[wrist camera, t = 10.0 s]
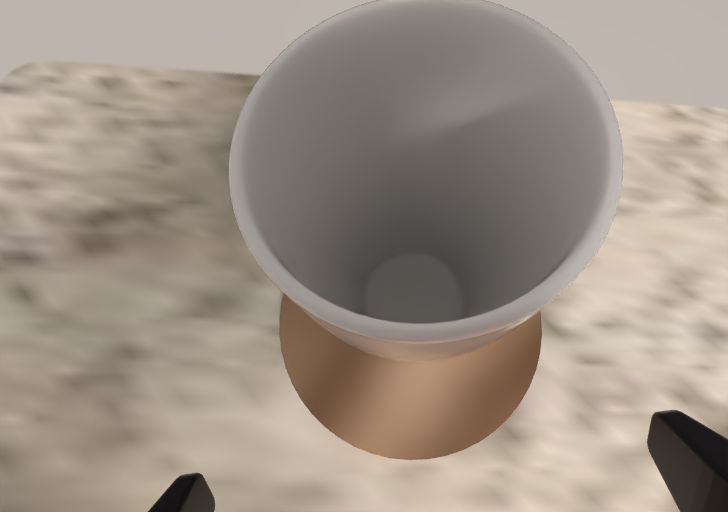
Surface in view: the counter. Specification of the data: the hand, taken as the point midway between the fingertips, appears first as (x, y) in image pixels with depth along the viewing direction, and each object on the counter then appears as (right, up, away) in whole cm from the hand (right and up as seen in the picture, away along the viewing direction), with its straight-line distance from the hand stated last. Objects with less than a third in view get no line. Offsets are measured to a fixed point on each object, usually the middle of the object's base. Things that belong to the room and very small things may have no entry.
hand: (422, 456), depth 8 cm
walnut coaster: (+1, +1, +14) cm, 14 cm away
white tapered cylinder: (+1, +1, +13) cm, 13 cm away
